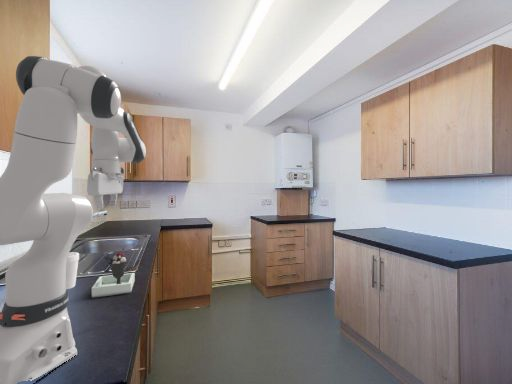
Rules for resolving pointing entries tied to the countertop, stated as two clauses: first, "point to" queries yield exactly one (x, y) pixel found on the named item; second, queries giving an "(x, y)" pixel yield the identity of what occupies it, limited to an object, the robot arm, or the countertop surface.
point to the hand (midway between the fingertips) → (107, 207)
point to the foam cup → (71, 269)
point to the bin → (113, 285)
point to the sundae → (118, 266)
